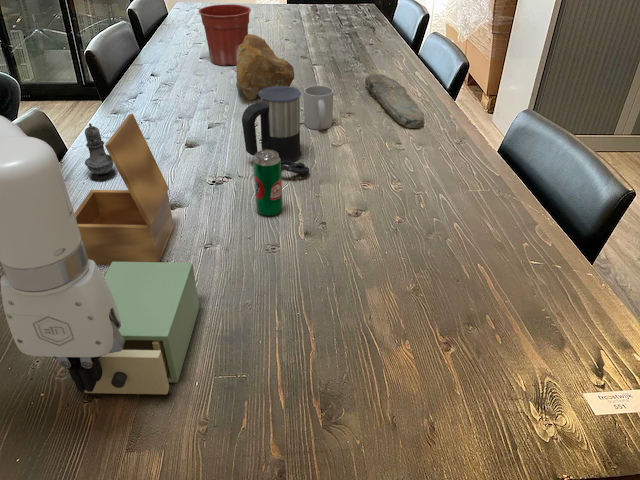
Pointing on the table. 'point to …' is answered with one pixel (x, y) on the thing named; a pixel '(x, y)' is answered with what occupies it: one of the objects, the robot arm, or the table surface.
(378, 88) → the elongated rock
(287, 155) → the milk frother
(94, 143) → the grey chess piece
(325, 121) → the cup
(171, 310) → the cabinet
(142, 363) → the drawer
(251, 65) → the jagged brown rock
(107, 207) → the chest
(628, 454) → the table surface
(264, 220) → the table surface
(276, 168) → the soda can
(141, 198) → the lid
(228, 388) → the table surface
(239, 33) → the flower pot
